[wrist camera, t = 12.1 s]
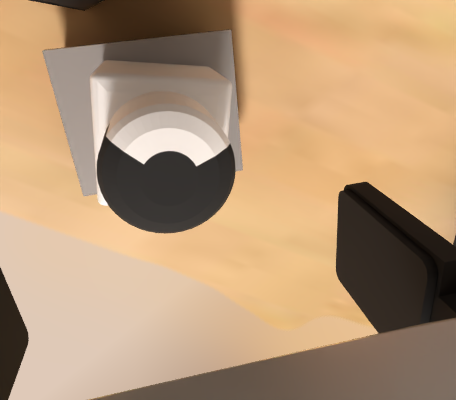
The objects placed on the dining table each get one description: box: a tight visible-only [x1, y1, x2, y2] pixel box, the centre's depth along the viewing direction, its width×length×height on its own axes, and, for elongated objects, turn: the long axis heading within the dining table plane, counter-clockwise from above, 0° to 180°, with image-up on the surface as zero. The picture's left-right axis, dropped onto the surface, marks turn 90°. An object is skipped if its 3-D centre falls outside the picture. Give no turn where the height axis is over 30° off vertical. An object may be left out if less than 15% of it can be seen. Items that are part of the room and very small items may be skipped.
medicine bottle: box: [90, 60, 236, 233], centre depth 22 cm, size 7×7×12 cm
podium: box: [42, 30, 243, 196], centre depth 29 cm, size 12×10×4 cm
